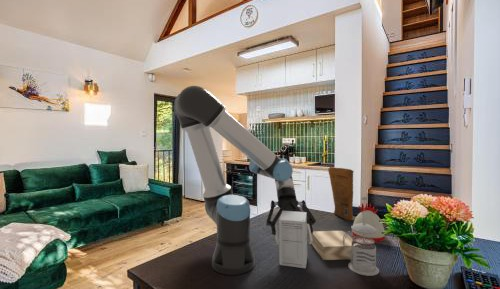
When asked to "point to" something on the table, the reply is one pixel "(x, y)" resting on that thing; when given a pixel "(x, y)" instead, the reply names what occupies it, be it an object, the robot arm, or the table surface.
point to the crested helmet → (369, 223)
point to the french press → (357, 261)
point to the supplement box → (293, 239)
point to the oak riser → (332, 244)
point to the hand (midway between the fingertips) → (294, 242)
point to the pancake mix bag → (342, 191)
